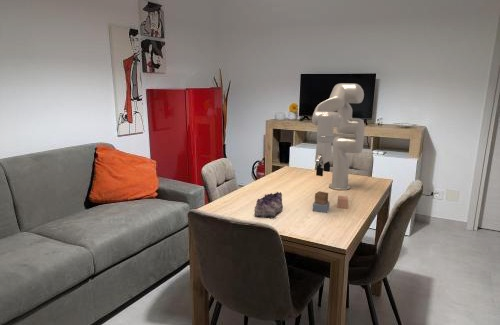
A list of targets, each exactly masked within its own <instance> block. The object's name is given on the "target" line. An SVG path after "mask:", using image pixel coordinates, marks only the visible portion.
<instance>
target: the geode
mask: <svg viewBox="0 0 500 325" xmlns="http://www.w3.org/2000/svg"><path fill="white" fill-rule="evenodd" d="M283 206H284V205H283V194H282V192H281V191H280V192H279V191H276V192H274V193H272V192H270V193H267V194H264V196H263V197H261V198H258V199H257V200H256V204H255V206H254V210H253V211H254V213H253V214H254V215H255V217H256V218H257V217H268V218H269V217H270V218H274V217H276V216H277V214H280V213H281V212H282V211H283Z"/></svg>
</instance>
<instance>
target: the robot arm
mask: <svg viewBox="0 0 500 325" xmlns="http://www.w3.org/2000/svg"><path fill="white" fill-rule="evenodd" d="M364 92H365V91H364V89H363V88H362V85H360V84H358V83H348V82H347V83H344V82H343V83H341V82H340V83H337V84H335V85H334V87H333V88H332V91H331V93H330V95H329V98H328V99H326V100H323V101H322V102H319V104H317V106H316V107H315V108H314V111H313V113H312V118H311V122H312V124H313V126H315V127H317V130H316V150H315V155H314V156H315V159H314V162H315V163H316V164H315V166H316V167H315V168H316V170H315V176H318V177H324V176H323V175H324V172H329V173H330V172H331V163H332V175H331V176H332V177H331V183H329V185H328V187H329V188H330V189H332V190H337V191H346V190H350V189H351V185H350V184H349V172H350V171H349V170H350V158H349V155H348V153H349V154H361V153H362V151H363V149H364V139H365V122H364V120H363V119H361V118H356V117H355V118H353V107H352V105H351V104H361V103H362V102H363V100H364V97H365V93H364ZM334 128H336V132H337V133H338V134H341V135H338V136H335V137H334ZM345 135H351V136H345ZM352 135H353V136H352ZM332 152H333V154H332ZM332 155H333V157H332ZM332 159H333V160H332ZM331 160H332V162H331Z"/></svg>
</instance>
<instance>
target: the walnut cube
mask: <svg viewBox="0 0 500 325" xmlns="http://www.w3.org/2000/svg"><path fill="white" fill-rule="evenodd" d="M314 194H315V195H314V202H315V203H316V204H321V205H325V204H326V203H328V202H329V192H325V191H317V192H315V193H314Z"/></svg>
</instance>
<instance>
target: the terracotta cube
mask: <svg viewBox="0 0 500 325" xmlns="http://www.w3.org/2000/svg"><path fill="white" fill-rule="evenodd" d="M348 206H349V196H345V195H338V196H337V206H336V207H337V209H339V208H340V209H345V210H346V209H348Z"/></svg>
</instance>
